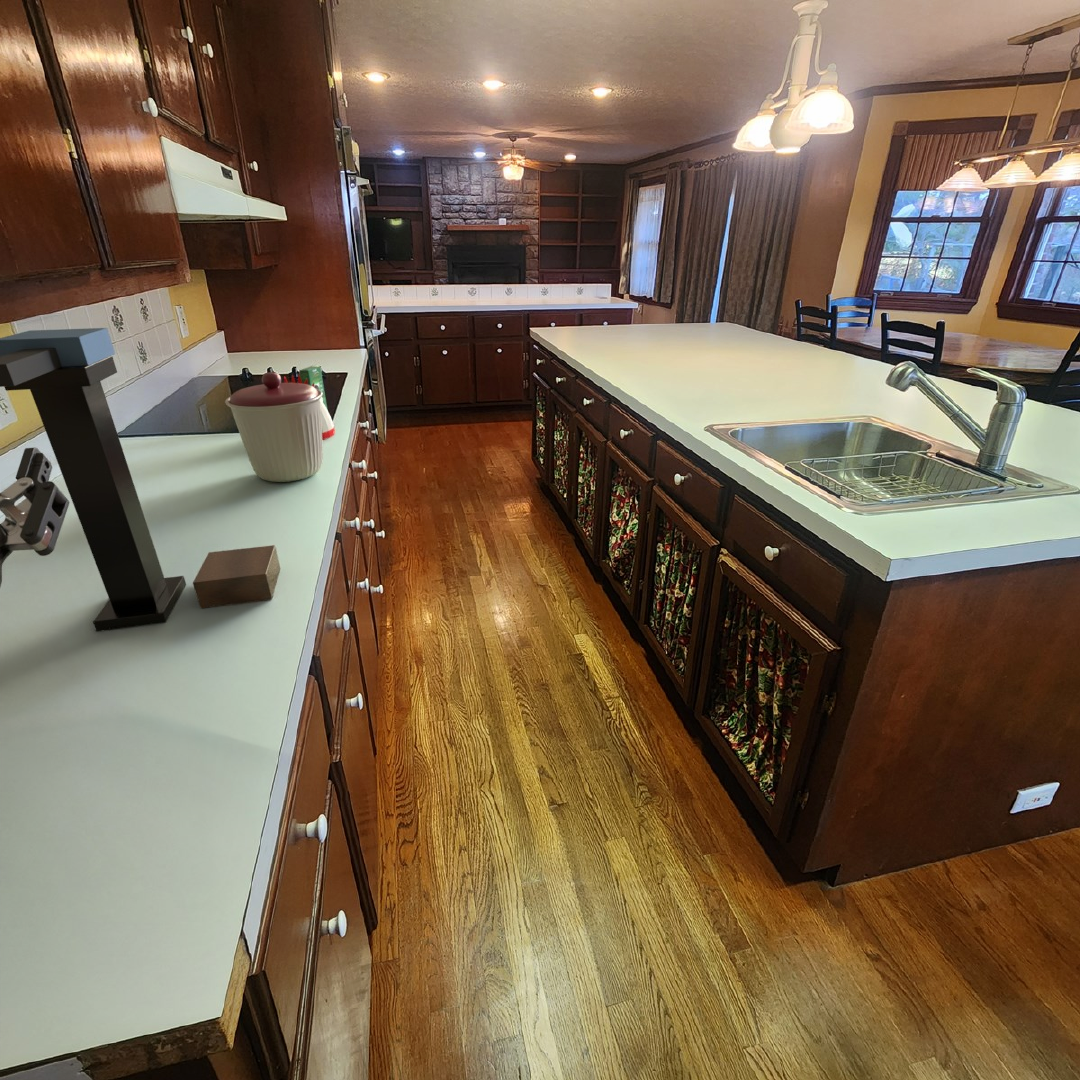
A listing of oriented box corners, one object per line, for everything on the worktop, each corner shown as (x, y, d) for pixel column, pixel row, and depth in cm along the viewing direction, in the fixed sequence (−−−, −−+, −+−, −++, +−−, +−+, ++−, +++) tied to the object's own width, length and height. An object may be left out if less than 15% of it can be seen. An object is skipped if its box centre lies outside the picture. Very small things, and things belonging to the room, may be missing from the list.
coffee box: (319, 410, 176) (311, 364, 171) (328, 410, 176) (321, 364, 170) (306, 417, 169) (297, 370, 163) (316, 418, 169) (307, 370, 163)
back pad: (-56, 389, 55) (-71, 355, 54) (38, 357, 71) (29, 330, 70) (45, 384, 57) (33, 351, 56) (115, 354, 73) (107, 327, 71)
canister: (285, 457, 138) (266, 362, 129) (352, 465, 133) (337, 366, 124) (223, 483, 123) (197, 378, 114) (296, 494, 118) (275, 384, 108)
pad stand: (96, 631, 76) (-8, 373, 62) (124, 592, 85) (38, 357, 71) (166, 622, 78) (80, 369, 64) (186, 584, 87) (115, 354, 73)
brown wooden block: (200, 608, 81) (192, 582, 79) (215, 576, 89) (208, 552, 87) (272, 599, 83) (265, 574, 81) (280, 568, 91) (275, 544, 89)
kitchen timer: (277, 431, 157) (264, 372, 151) (332, 425, 162) (322, 368, 156) (278, 445, 146) (265, 383, 139) (337, 438, 151) (327, 377, 144)
